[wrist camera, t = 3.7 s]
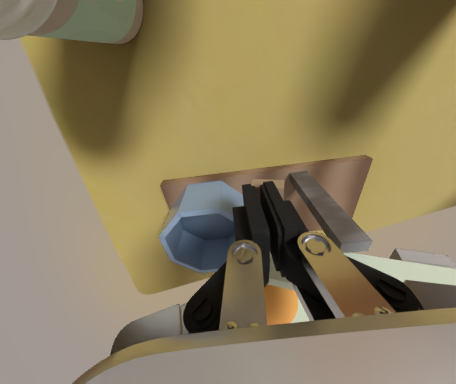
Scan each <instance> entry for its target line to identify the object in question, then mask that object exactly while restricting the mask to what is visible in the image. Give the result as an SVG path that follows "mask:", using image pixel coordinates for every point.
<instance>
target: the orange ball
mask: <svg viewBox="0 0 456 384" xmlns="http://www.w3.org/2000/svg"><path fill="white" fill-rule="evenodd" d="M264 293H265V305H266V318H267V325H276V324H286V323H291V322H292V320H293V319H294V318H295V316H296V313H297V310H298V296H297V294H296V292H295V291H294V290H289V289H285V288H281V287H277V286H273V285H268V284H267V285H266V287H265V288H264Z"/></svg>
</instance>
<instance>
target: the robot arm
mask: <svg viewBox="0 0 456 384" xmlns="http://www.w3.org/2000/svg"><path fill="white" fill-rule="evenodd" d="M242 193H243V202H244V206H239V207H232V210H233V221H234V231H235V243H233V244H232V245H231V246H230V248H229V250H228V255H227V261H226V262H225V263H224V264H223V265H222V266H221V267H220V268H219V269H218V270H217V271H216V272H215V274H214V275H213V276H212V277H211V278H210V279H209V280H208V281H207V282H206V283H205V284H204V285H203V286H202V287H201V288H200V289H199V290H198V291H197V292H196V293H195V294H194V296H192V297H191V299H190V300H189V301H188V302H187V303H186V304H183V305H181V306H180V305H179V304H177V305H174V306H172V307H169V308H167V309H164V310H161V311H159V312H156V313H153V314H151V315H148V316H145V317H143V318H140V319H137V320H135V321H133V322H131V323H129V324H127V325H126V326H125V327H124V328H123V329H122V330H121V331H120V332H119V334H118V335H117V337H116V338H115V340H114V343H113V346H112V349H111V354H110V356H109V357H107V358H106V359H104V360H102V361H100V362H99V363H97V364H96V365H94V366H93V367H91V368H90V369H89V370H87V371H86V372H85V373H83V374H82V375H81V376H80V377H79V378H77V379H76V380H75V381H74V382H73V383H72V384H456V286H455V285H447V284H438V283H430V282H421V281H413V280H405V281H404V282H401V281H400V280H398V279H396V278H394V277H392V276H390V275H388V274H386V273H384V272H381V271H379V270H377V269H375V268H372V267H370V266H368V265H366V264H364V263H361V262H359V261H357V260H355V259H352V258H350V257H348V256H346V255H344V254H343V252H342V251H341V250H340V249H339V248H338V247H337V246H336V245H335V244H334V243H333V241H332V240H331V239H329V238H328V237H327V236H325V235H323V234H321V233H318V232H309V231H308V229H307V227H306V226H305V224H304V222H303V221H302V219H301V217H300V216H299V214H298V212H297V211H296V209H295V207H294V206H293V204H292V202H291V201H290V200H285V201H284V200H283V199H282V197H281V195H280V193H279V191H278V189H277V187H276V186H275V184H274V182H273V181H266V182H263V184H262V185H260V200H259V197H258V194H257V191H256V188H255V186H251V184H244V185H242ZM260 201H261V203H260ZM270 252H271V256H272V259H273V263H274V266H275V269H276V271H280V274H281V277H282V278H283V277H286V280H288V281H290V282H291V283H292V285H293V288H294V290H295V292H296V294H297V296H298V298H299V300H300V302H301V304H302V306H303V308H304V310H305V312H306V314H307V316H308V319H309V321H306V322H296V323H286V324H276V325H267V318H266V305H265V293H264V288H265V287H266V285H267V284H268V282H269V272H270Z"/></svg>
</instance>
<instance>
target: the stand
mask: <svg viewBox="0 0 456 384" xmlns="http://www.w3.org/2000/svg"><path fill="white" fill-rule="evenodd" d="M372 160H373V159H372V158H370V157H368V156H366V155H362V156H354V157H347V158H339V159H331V160H323V161H315V162H307V163H299V164H291V165H283V166H275V167H267V168H259V169H251V170H243V171H235V172H227V173H219V174H211V175H204V176H196V177H188V178H180V179H172V180H164V181H163V182H162V183H161V185H160V186H161V188H162V190H163V193H164V195H165V198H166V200H167V203H168V205H169V208H170V209H171V207H172V205H173V204H174V203H175V201H176V200H177V199H178V197H179V196H180V195H181V193H182V192H183V190H184V189H185V188H186V186H187V185H189V184H197V183H205V182H213V181H223V182H224V183H226V184H227V185H229V186H230V187H232V188H233V189H235V190H236V191H238V192H239V193H241V194H242V195H243V193H242V185H244V184H251V183H252V180H253V179H269V180H285V181H284V199H283V200H284V201H285V200H290V201H291V202H292V204H293V206H294V207H295V209H296V211H297V212H298V214H299V216H300V217H301V219H302V221H303V222H304V224H305V226H306V227H307V229H308V231H316V230H323V231H324V233H325V234H326V236H327V237H328V238H329V239H331V240H332V241H333V243H334V244H335V245H336V246H337V247H338V248H339V249H340V250H341V251H342V252H343V253H349V252H358V251H367V250H369V248H370V245H371V243H372V240H371V239H370V238H369V236H368V235H367V234H366V233H365V232H364V231H363V230H362V229H361V228H360V227H359V226H358V225H357V224H356V223H355V222H354V221H353V219H352V217H353V214H354V211H355V208H356V205H357V203H358V200H359V197H360V194H361V191H362V188H363V185H364V183H365V180H366V177H367V174H368V171H369V168H370V165H371V163H372Z"/></svg>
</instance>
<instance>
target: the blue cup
mask: <svg viewBox="0 0 456 384" xmlns="http://www.w3.org/2000/svg"><path fill="white" fill-rule="evenodd" d="M239 206H244V202H243V195H242V194H241V193H239V192H238V191H236V190H235V189H233V188H232V187H230V186H229V185H227V184H226V183H224V182H223V181H213V182H205V183H197V184H189V185H187V186H186V188H185V189H184V190H183V192H182V193H181V195H180V196H179V197H178V199H177V200H176V201H175V203H174V204H173V205H172V207H171V209H170V212H169V214H168V216H167V219H166V221H165V223H164V226H163V228H162V230H161V233H160V235H159V239H160V241H161V243H162V245H163V247H164V249H165V251H166V253H167V255H168V257H169V259H170V261H171V262H174V263H176V264H179V265H181V266H183V267H186V268H188V269H191V270H193V271H196V272H198V273H208V272H216V271H217V270H218V269H219V268H220V267H221V266H222V265H223V264H224V263H225V262H226V261H227V255H228V250H229V248H230V246H231V245H232V244H233V243H235V231H234V221H233V210H232V207H239Z"/></svg>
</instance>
